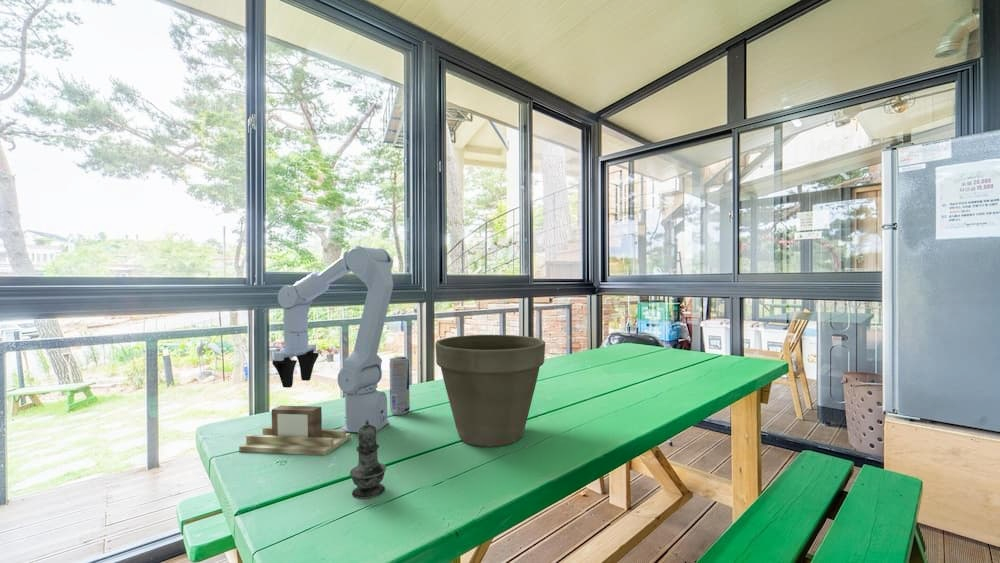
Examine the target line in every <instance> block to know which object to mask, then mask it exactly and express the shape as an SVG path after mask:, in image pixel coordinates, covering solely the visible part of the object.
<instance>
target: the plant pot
mask: <svg viewBox="0 0 1000 563" xmlns="http://www.w3.org/2000/svg"><path fill="white" fill-rule="evenodd" d="M545 354H546V342H545V340H543V339H540V338H537V337H533V336H524V335H514V334H513V335H512V334H511V335H510V334H470V335H469V334H468V335H458V336H456V335H455V336H450V337H449V336H448V337H446V338H441V339H439V340H437V341H436V342H435V360H436V361H435V362H436V365H437V366H439V367H440V369H441V375H442V377H443V379H442V380H443V382H444V386H445V390H446V393H447V398H448V402H449V405H450V409H451V412H452V417H453V421H454V424H455V428H456V431H457V434H458V437H459V439H460V440H461V441H462V442H464V443H466V444H469V445H472V446H475V447H476V446H477V447H487V448H488V447H493V448H494V447H501V446H508V445H511V444H513V443H516V442H517V441H519V440H520V439H521V438H522V436H523V435H524V432H525V428H526V425H527V421H528V416H529V414H530V409H531V405H532V402H533V398H534V393H535V390H536V384H537V381H538V377H539V372H540V367H542V366H543V365H544V363H545Z"/></svg>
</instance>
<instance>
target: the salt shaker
mask: <svg viewBox="0 0 1000 563" xmlns="http://www.w3.org/2000/svg"><path fill="white" fill-rule="evenodd" d="M365 423H366V425H364V426H362V427H361V428H360V429H359V432H357V433H358V446H357V447H356V451H357V452H358V455H357V456H358V462H357V466H354V467H353V468H352V469H351V470H350V471H349V475H350V477H351V480H352V482H353V484H354V486H356V487H355V488H354V489H353V490H352V492H351V495H352V497H353V498H354V499H356V500H358V499H359V500H368V499H373V498H377V497H378V496H380V495H382V494H383V493H384V492H385V489H386V487H385V486H384V485H383V484H382V483H381V482H382V481H383V479H384V477H385V472H386V470H387V466H386V465H385V464H384V463H381V462H379V460H378V448H380V446H379V443H377V432H376V428H375V427H374V426H373V425H370V424H369V421H368V420H367V421H366V422H365Z"/></svg>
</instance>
